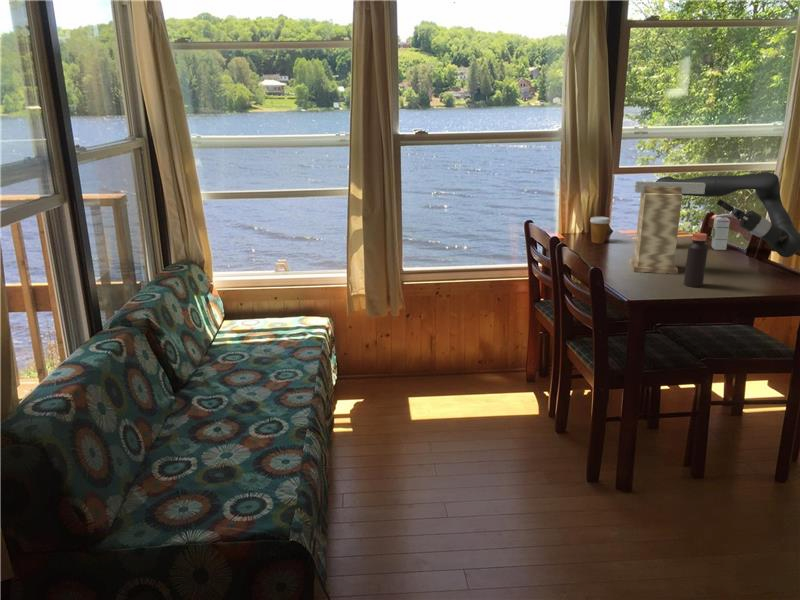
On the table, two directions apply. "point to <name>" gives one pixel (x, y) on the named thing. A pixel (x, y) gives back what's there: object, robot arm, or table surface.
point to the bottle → (696, 261)
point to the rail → (686, 186)
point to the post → (657, 230)
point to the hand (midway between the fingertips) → (720, 202)
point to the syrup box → (720, 233)
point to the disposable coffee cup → (599, 229)
